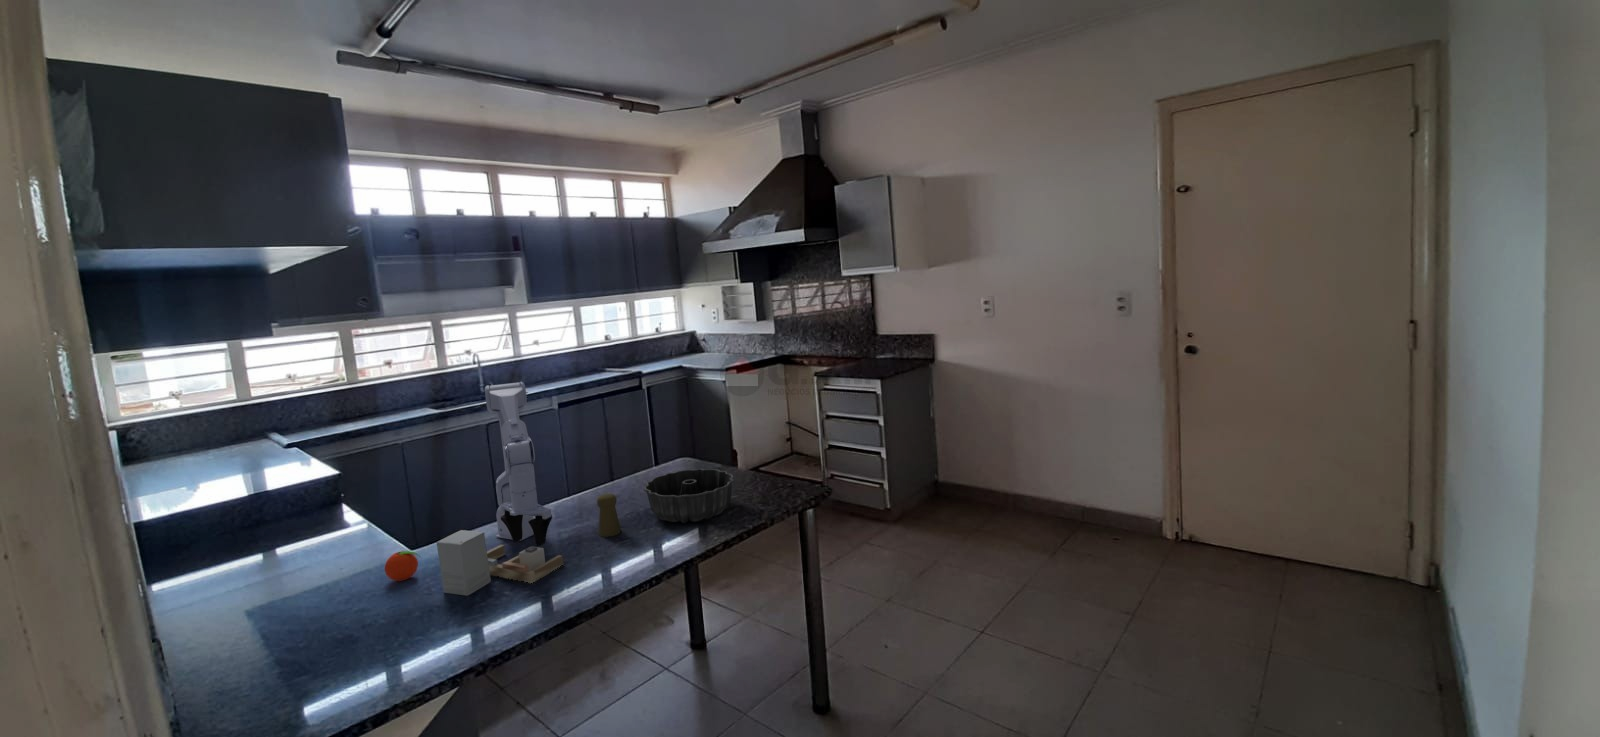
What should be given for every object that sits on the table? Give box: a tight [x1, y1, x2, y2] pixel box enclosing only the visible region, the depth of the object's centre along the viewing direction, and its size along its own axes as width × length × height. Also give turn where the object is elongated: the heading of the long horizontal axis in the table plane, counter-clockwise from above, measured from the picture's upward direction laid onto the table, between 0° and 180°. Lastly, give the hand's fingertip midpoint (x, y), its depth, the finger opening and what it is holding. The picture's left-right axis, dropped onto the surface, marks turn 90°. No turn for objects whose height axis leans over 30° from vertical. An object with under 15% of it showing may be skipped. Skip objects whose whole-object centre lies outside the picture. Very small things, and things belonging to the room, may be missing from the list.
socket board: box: [487, 544, 564, 584], centre depth 160 cm, size 21×10×4 cm, turn 66°
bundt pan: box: [643, 468, 734, 524], centre depth 192 cm, size 26×26×10 cm
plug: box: [518, 545, 546, 571], centre depth 159 cm, size 4×4×6 cm
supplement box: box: [436, 529, 491, 597], centre depth 151 cm, size 7×7×13 cm
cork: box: [596, 493, 622, 538], centre depth 180 cm, size 6×6×11 cm
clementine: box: [384, 550, 422, 582], centre depth 157 cm, size 8×7×7 cm
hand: (529, 542), depth 158 cm, fingers open, 7 cm apart
